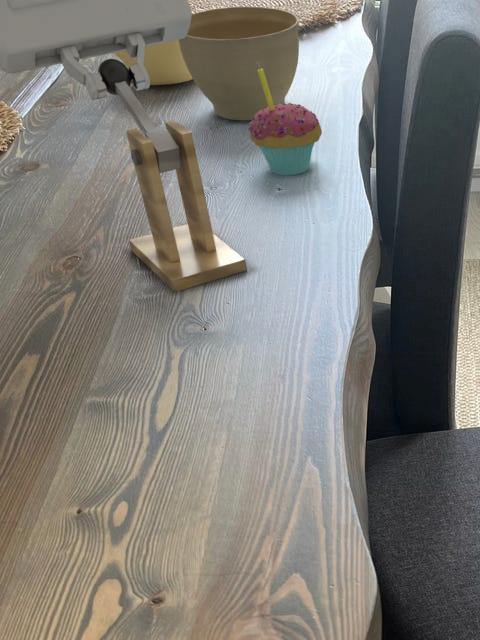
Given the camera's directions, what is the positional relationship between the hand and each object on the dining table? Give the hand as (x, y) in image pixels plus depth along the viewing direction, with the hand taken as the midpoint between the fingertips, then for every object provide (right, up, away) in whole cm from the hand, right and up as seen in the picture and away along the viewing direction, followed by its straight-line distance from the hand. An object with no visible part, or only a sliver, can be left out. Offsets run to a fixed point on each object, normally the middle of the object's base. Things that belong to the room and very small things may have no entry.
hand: (122, 91), depth 101 cm
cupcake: (+13, +3, +23) cm, 26 cm away
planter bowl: (+4, +18, +38) cm, 42 cm away
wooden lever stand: (+5, -15, +5) cm, 17 cm away
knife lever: (+2, -4, 0) cm, 4 cm away
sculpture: (-11, +28, +48) cm, 57 cm away
